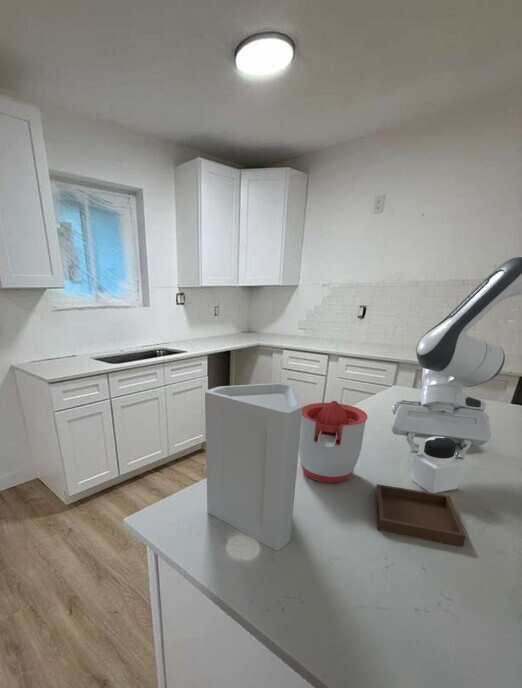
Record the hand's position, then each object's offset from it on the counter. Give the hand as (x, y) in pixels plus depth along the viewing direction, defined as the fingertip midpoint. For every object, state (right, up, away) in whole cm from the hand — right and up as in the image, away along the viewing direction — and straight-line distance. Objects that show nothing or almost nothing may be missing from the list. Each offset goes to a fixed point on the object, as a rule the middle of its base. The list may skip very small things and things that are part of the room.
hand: (436, 455), depth 86 cm
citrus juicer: (-24, -6, +9) cm, 26 cm away
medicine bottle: (+1, -7, +2) cm, 8 cm away
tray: (-11, -13, -9) cm, 19 cm away
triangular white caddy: (-43, -13, -6) cm, 46 cm away
